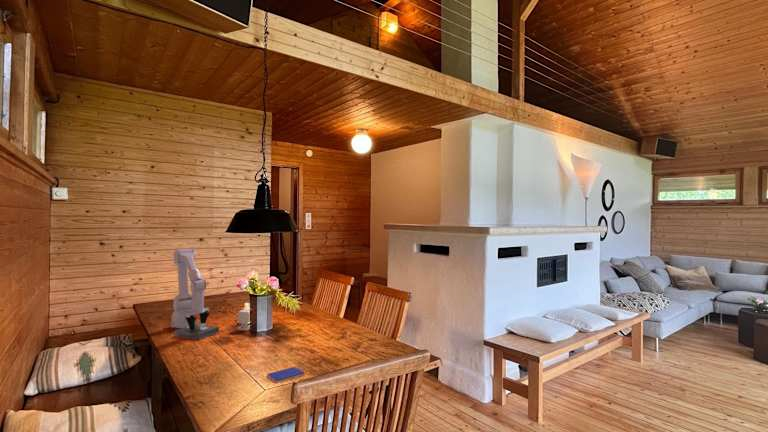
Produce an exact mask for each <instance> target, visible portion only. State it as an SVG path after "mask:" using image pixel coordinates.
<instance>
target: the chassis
mask: <svg viewBox="0 0 768 432" xmlns="http://www.w3.org/2000/svg"><path fill="white" fill-rule="evenodd" d="M187 327H189V326H187ZM205 327H208V329H206V330H204V331H197V330H190V329H186V327H184V328H177V329H175V330H174V337H178V338H184V339H185V338H186V339H190V340H191V339H192V340H197V341H198V340H199V341H200V340H202V339H205V338H207V337H211V336H212V335H215V334H218V333H220V332H219V331H220V326H216V325H215V326H214V325H209V324H205Z"/></svg>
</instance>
